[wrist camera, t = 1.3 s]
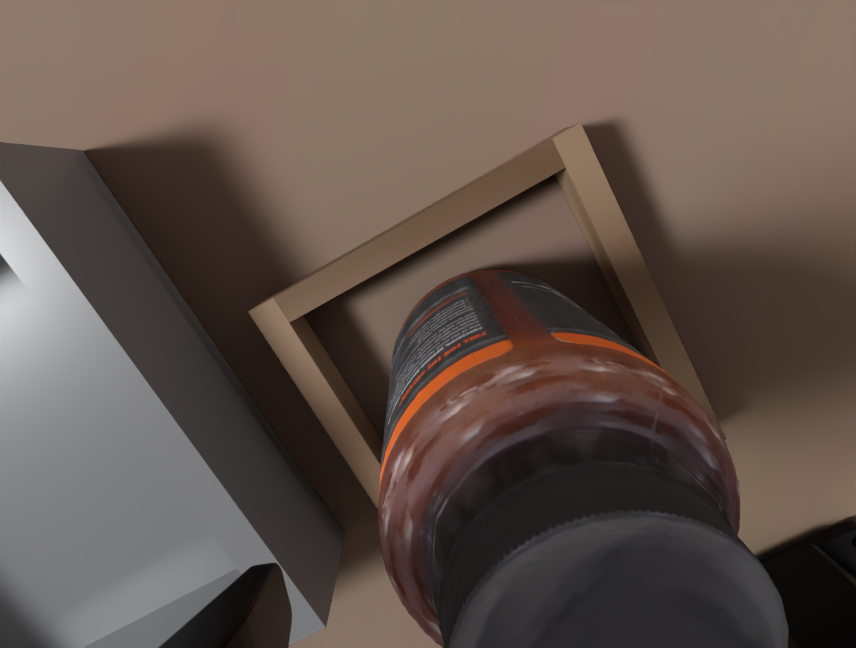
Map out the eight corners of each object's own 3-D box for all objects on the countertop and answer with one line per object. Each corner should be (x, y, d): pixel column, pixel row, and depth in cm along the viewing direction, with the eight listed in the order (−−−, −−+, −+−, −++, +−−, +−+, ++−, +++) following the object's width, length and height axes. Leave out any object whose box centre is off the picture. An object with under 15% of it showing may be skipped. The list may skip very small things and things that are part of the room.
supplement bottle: (369, 419, 18) (289, 810, 7) (426, 238, 16) (444, 354, 5) (546, 470, 18) (741, 908, 7) (615, 299, 17) (986, 517, 6)
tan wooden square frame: (701, 417, 18) (726, 439, 16) (426, 554, 19) (427, 585, 17) (565, 128, 16) (580, 122, 14) (263, 300, 17) (247, 311, 15)
